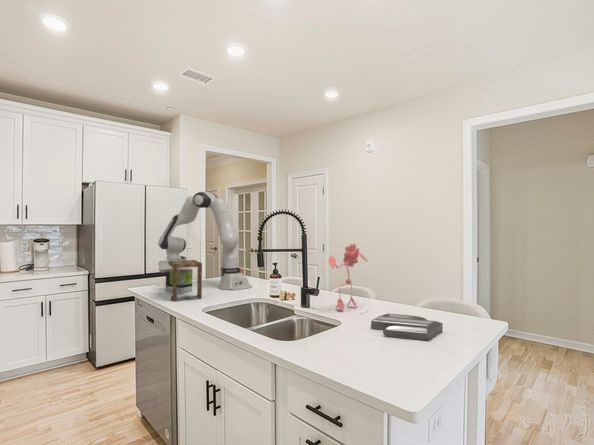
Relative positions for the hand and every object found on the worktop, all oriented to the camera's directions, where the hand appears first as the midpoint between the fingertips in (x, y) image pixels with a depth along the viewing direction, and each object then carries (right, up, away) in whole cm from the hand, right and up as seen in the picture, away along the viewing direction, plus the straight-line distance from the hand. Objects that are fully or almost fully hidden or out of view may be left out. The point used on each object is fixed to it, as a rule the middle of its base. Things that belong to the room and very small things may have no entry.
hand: (175, 275), depth 230 cm
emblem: (+131, -10, -88) cm, 158 cm away
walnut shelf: (+16, -8, -28) cm, 33 cm away
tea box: (+7, -8, -12) cm, 16 cm away
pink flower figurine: (+113, -9, -57) cm, 127 cm away
